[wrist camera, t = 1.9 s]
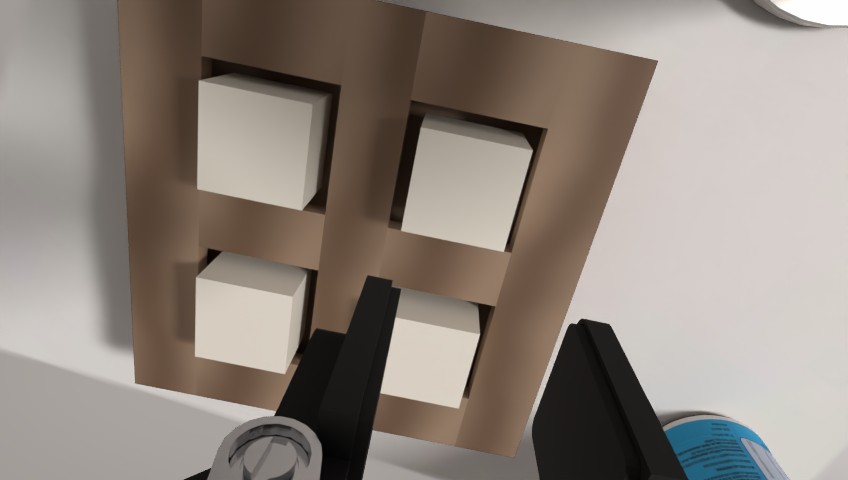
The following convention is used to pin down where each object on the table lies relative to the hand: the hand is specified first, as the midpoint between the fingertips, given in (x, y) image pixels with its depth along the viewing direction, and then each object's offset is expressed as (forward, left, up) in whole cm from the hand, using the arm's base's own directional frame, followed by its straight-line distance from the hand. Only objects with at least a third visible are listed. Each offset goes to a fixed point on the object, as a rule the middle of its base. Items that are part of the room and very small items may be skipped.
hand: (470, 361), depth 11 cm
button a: (0, 0, -15) cm, 15 cm away
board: (+5, +5, -17) cm, 18 cm away
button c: (+9, 0, -15) cm, 18 cm away
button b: (+9, +9, -15) cm, 20 cm away
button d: (0, +9, -15) cm, 18 cm away
